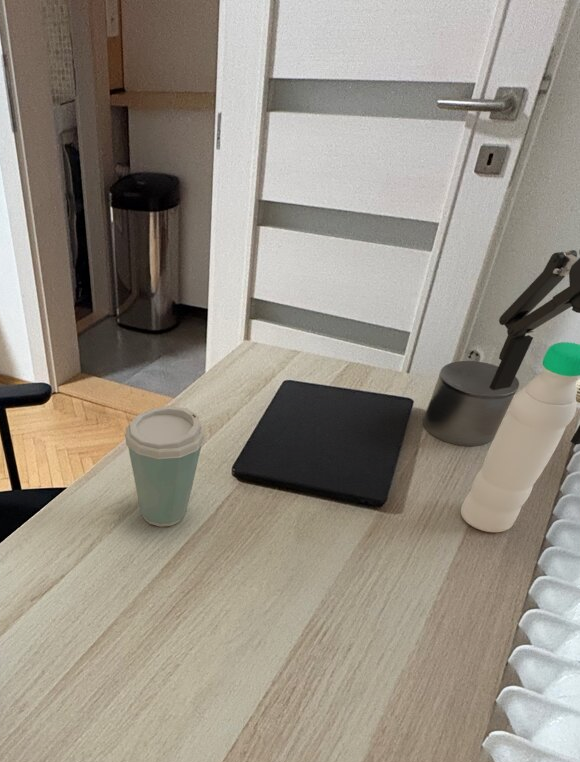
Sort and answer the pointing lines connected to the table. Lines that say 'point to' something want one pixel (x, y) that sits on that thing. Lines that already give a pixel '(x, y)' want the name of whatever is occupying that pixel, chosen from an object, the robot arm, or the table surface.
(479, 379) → the tin
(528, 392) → the water bottle
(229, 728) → the table surface
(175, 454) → the disposable coffee cup
